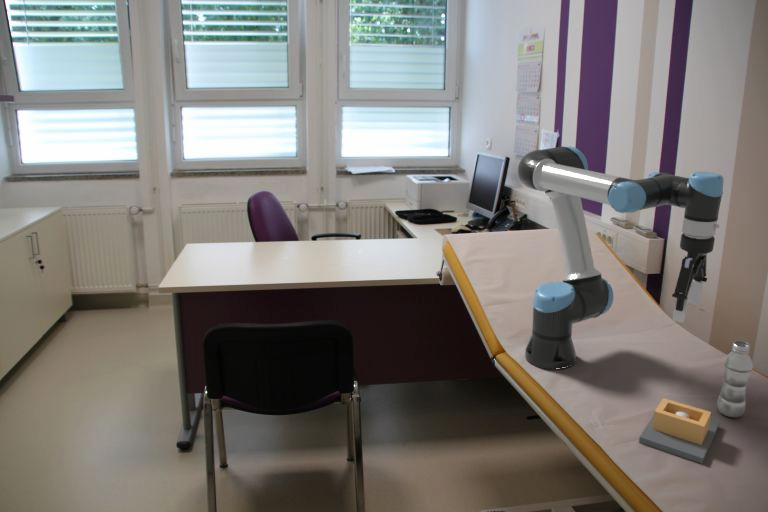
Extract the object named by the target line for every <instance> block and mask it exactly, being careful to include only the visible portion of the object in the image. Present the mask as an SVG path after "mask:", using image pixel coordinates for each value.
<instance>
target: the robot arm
mask: <svg viewBox="0 0 768 512" xmlns="http://www.w3.org/2000/svg"><path fill="white" fill-rule="evenodd" d="M588 166H589V165H588V161H587V158H586V156H585V155H584V153H583V152H582V151H581V150H580V149H578V148H577V147H574V146H562V145H561V146H557V147H551V148H543V149H536V150H532V151H529V152H527V153H526V154H525V155H524V156H523V157H522V158H521V159H520V161H519V163H518V167H517V174H518V175H517V176H518V178H519V181H520V182H521V183H522V184H523V185H524V186H525V187H527V188H528V189H531V190H536V191H539V192H544V193H545V195H546V196H547V197H549V198H550V199H551V204H552V209H553V213H554V219H555V223H556V228H557V233H558V236H559V237H558V238H559V243H560V249H561V255H562V260H563V263H564V268H565V275H563V277H562V281H556V282H553V281H551V282H546V283H544V284H541V285H540V286H538V287H537V288H536V289H535V292H534V298H533V302H532V305H533V306H532V307H533V309H532V330H531V336H530V337H529V340H528V343H527V345H526V347H525V353H524V357H525V360H526V361H527V362H528V363H529V364H531V365H533V366H535V367H538V368H541V369H544V368H546V369H545V370H552V369H556V368H562V367H567V366H570V365H572V366H574V365H575V364H574V363H576V362H577V352H576V349H575V346H574V345H575V344H574V342H573V338H572V336H573V335H572V333H573V325H574V324H577V323H580V322H582V321H583V322H584V321H586V320H590V319H595V318H598V317H600V316H602V315H605V314H606V313H607V312H609V310H610V309H611V307H612V305H613V304H614V290H613V288H612V286H611V284H610V283H609V281H608V280H607V279H605V278H602V277H603V276H602V273H601V271H599V270H598V269H596V268H595V264H594V258H593V252H592V249H591V244H590V238H589V234H588V233H589V232H588V227H587V225H586V224H587V223H586V222H587V221H586V218H585V214H584V209H583V203H582V199H585V200H589V201H593V202H597V203H601V204H605V205H608V206H610V207H611V208H612V209H613V210H614V211H615V212H617V213H620V214H626V213H629V214H630V213H631V214H632V213H636V212H639V211H643V210H647V209H652V208H656V207H661V206H667V205H668V206H674V207H678V208H680V209H681V208H682V209H684V216H683V221H682V228H681V232H682V234H681V235H680V243H679V248H680V249H681V250H682V251H685V252H687V255H685V256H684V258H682V260H681V266H680V270H679V273H678V278H677V280H676V286H675V290H674V292H673V293H672V294H671V296H672V298H674V299H675V301H674V307H673V311H672V312H673V313H672V321H673V322H677V323H678V322H679V323H682V324H684V323H685V321H686V315H687V314H686V313H687V310H688V309H687V308H688V304H689V305H693V306H697V307H698V306H700V305H701V304H700V303H701V296H702V291H703V284H704V283H707V281H708V277H707V261H708V260H707V259H708V258H707V254H710V253H712V252H713V250H714V245H715V240H716V238H715V237H714V236H715V235H716V231H717V229H719V228H720V225H719V224H718V220H719V214H720V213H719V212H720V209H721V208H720V207H721V202H722V198H723V193H724V191H723V190H724V181H725V180H724V177H723V175H722V174H720V173H717V172H711V171H695V172H692V173H691V174H690V175H689V177H685V176H680V175H679V176H678V175H674V174H670V173H667V172H658V171H657V172H651V173H649V174H648V175H647V176H645V177H644V178H642V179H641V178H640V179H632V178H628V177H627V178H626V177H621V176H617V175H612V174H606V173H602V172H597V171H593V170H588V169H589V167H588ZM573 364H574V365H573Z"/></svg>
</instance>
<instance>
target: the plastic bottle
mask: <svg viewBox="0 0 768 512" xmlns="http://www.w3.org/2000/svg"><path fill="white" fill-rule="evenodd" d="M750 348H751V345H750V344H749V343H748V342H747V341H743V340H735V341H733V342H732V346H731V352H729V353H728V354H727V355H726V356H725V358H724V360H723V381H722V386H721V389H720V393H719V395H718V398H717V400H716V408H717V410H718V411H719V413H720V414H722V415H723V416H726V417H729V418H739V417H741V416H743V415H744V412H745V411H746V408H747V407H746V405H747V404H746V394H747V393H746V392H747V385H748V381H749V379H750V376H751V373H752V372H753V371H752V370H753V367H754V364H753V360H752V358H751V357H750V355H749V353H750Z"/></svg>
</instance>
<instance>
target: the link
mask: <svg viewBox="0 0 768 512" xmlns="http://www.w3.org/2000/svg"><path fill="white" fill-rule="evenodd" d="M676 412H685V413H687V414H688V415H689V418H686V417H682V416H679V415H676ZM653 413H654V414H653V415H654V421H653V429H654V430H657V431H660V432H663V433H666V434H669V435H672V436H675V437H678V438H682V439H685V440H688V441H691V442H694V443H697V444H700V445H702V442H703V440H704V438H705V436H706V434H707V432H708V430H709V424H710V419H711V417H712V411H709V410H706V409H703V408H698V407H695V406H692V405H688V404H685V403H681V402H678V401H675V400H670V399H667V398H664V397H663V398H662V399H661V401H660V403H658V405H657V407H656V408H655V410H654V412H653Z"/></svg>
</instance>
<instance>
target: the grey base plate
mask: <svg viewBox="0 0 768 512" xmlns="http://www.w3.org/2000/svg"><path fill="white" fill-rule="evenodd" d="M676 415H679V416H682V417H686V418H689V415H688V414H687V413H685V412H676ZM653 421H654V414H653V415H652V417H651V418H650V420H649V422H647V424H646V427H645V428H644V429H643V431H642V432H641V434H640V436H639V439H638V443H641V444H643V445H645V446H649V447H651V448H655V449H657V450H661V451H663V452H667V453H670V454H672V455H675V456H678V457H681V458H684V459H686V460H688V461H689V460H690V461H693V462H696V463H698V464H701V465H702V464H703V463H704V461H705V458H706V456H707V454H708V452H709V449H710V448H711V445H712V443H713V441H714V438H715V436H716V434H717V432H718V430H719V427H720V421H718V420H716V419H711V418H710V424H709V430H708V432H707V434H706V436H705V438H704V440H703V442H702V445H700V444H697V443H694V442H691V441H688V440H685V439H682V438H678V437H675V436H672V435H669V434H666V433H663V432H660V431H657V430H654V429H653Z"/></svg>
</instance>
